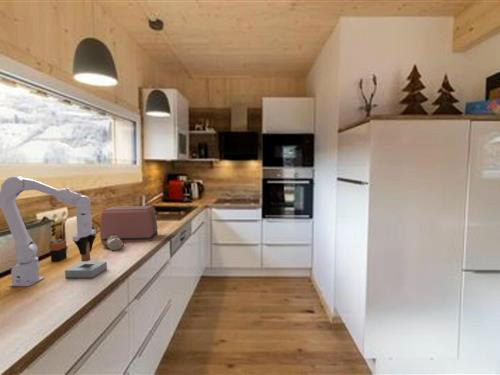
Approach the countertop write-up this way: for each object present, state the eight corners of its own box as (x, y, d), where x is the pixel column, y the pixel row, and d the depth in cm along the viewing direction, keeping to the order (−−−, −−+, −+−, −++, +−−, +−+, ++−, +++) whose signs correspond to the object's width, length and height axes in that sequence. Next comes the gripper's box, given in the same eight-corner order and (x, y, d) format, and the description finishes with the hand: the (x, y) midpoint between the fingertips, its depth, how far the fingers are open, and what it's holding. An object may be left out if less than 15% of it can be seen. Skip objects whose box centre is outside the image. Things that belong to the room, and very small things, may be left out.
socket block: (92, 278, 134) (91, 270, 134) (65, 278, 135) (64, 270, 135) (106, 269, 146) (106, 261, 146) (82, 268, 147) (81, 261, 147)
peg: (87, 261, 138) (86, 243, 137) (79, 261, 139) (78, 243, 138) (92, 259, 142) (91, 241, 141) (85, 259, 142) (84, 241, 141)
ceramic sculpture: (105, 237, 173) (101, 233, 185) (106, 252, 173) (101, 248, 185) (126, 234, 179) (120, 231, 191) (126, 249, 179) (121, 245, 191)
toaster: (154, 241, 197) (153, 209, 195) (99, 243, 195) (97, 210, 193) (161, 234, 216) (160, 205, 214) (111, 236, 214) (109, 206, 212)
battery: (67, 257, 166) (66, 238, 165) (59, 261, 159) (58, 242, 158) (58, 257, 166) (57, 238, 165) (50, 261, 159) (49, 242, 158)
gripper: (83, 226, 131) (85, 258, 132) (101, 219, 146) (103, 248, 147) (66, 226, 132) (68, 258, 133) (87, 219, 146) (88, 248, 147)
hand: (85, 253), depth 140 cm, fingers closed on peg, 3 cm apart
